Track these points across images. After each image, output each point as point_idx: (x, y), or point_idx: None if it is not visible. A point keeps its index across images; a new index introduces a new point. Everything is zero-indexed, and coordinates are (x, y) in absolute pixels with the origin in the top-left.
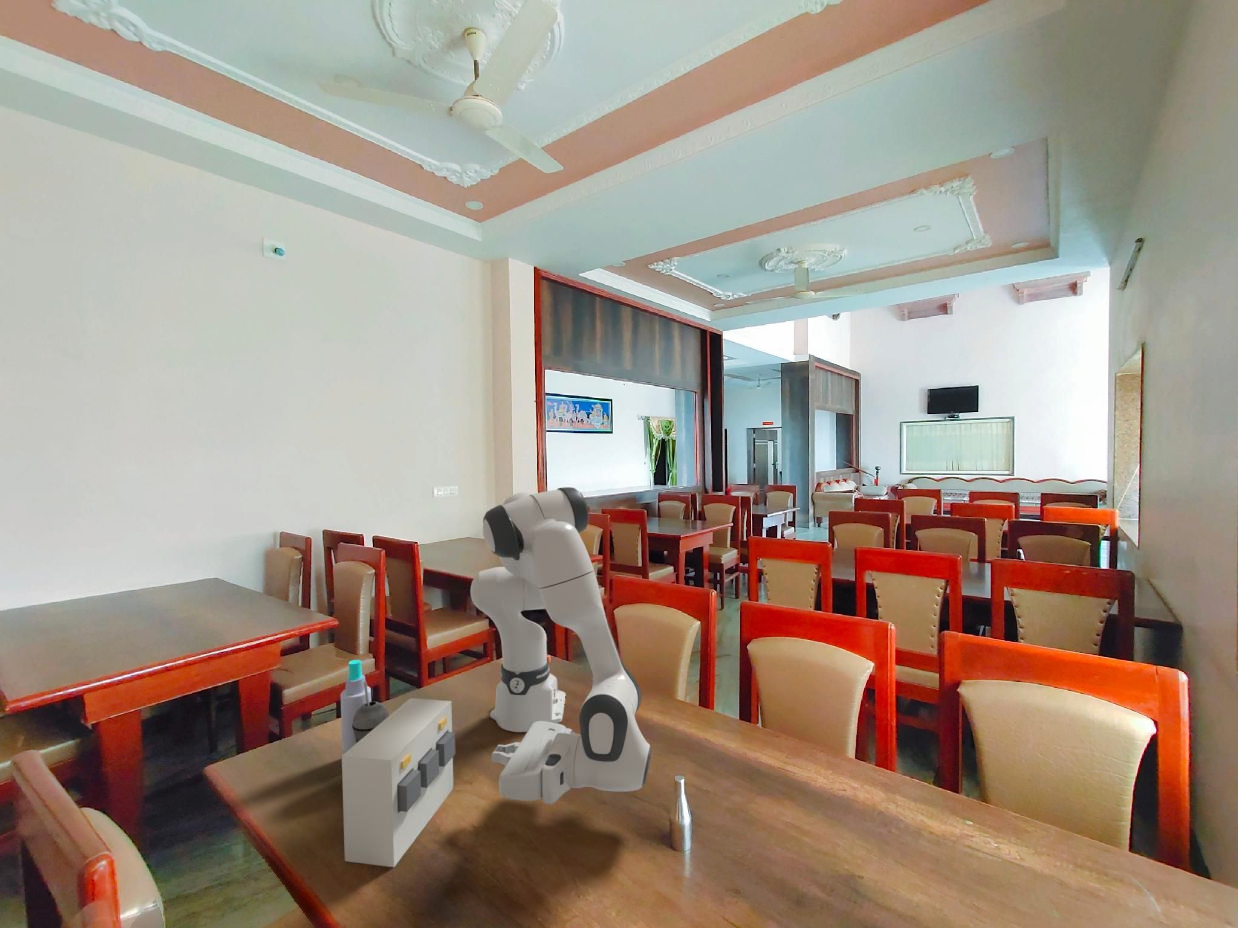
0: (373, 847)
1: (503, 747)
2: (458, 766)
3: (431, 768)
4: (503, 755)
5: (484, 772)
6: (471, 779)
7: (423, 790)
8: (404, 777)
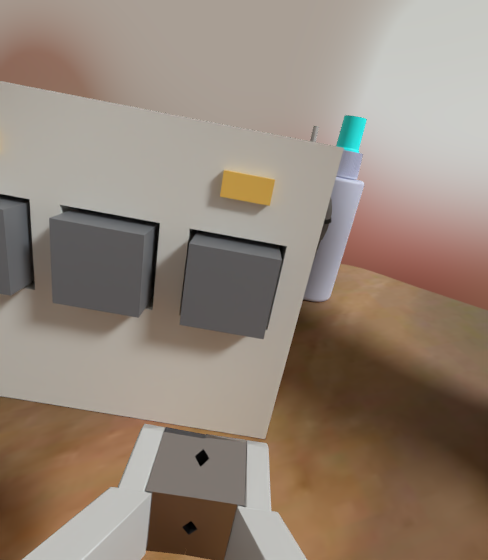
0: None
1: (228, 495)
2: (363, 428)
3: (85, 262)
4: (60, 531)
5: (375, 516)
6: (322, 480)
7: (92, 319)
8: None
